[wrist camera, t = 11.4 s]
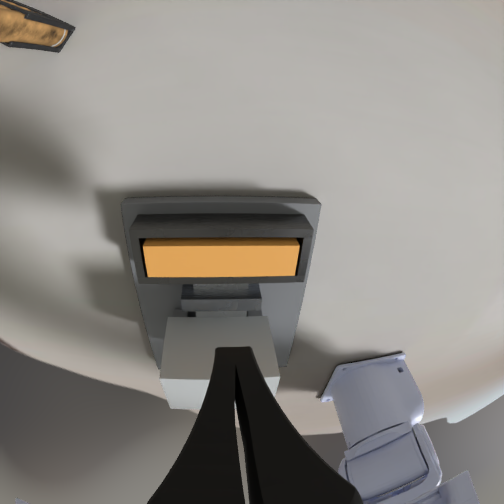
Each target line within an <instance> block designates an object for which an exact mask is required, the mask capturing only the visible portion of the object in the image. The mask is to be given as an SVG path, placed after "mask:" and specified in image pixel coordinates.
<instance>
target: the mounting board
mask: <svg viewBox="0 0 504 504" xmlns="http://www.w3.org/2000/svg"><path fill="white" fill-rule="evenodd" d="M121 209H122V217H123V223H124V230H125V236H126V242H127V247H128V253H129V258H130V263H131V268H132V273H133V278H134V282H135V287H136V291H137V295H138V299H139V304H140V308H141V312H142V315H143V319H144V323H145V327H146V330H147V334H148V337H149V341H150V344H151V348H152V351H153V354H154V357H155V361H156V364H157V367H158V369H161V362H162V354H163V346H164V339H165V332H166V326H167V319H168V317H173V312H174V309H182V305H181V294H182V287H183V284H139V283H138V279H137V274H136V269H135V264H134V258H133V253H132V247H131V241H130V235H129V229H130V227H131V225H132V223H133V222H134V220H135V218H136V216H137V215H139V214H185V213H259V214H304V215H305V216H306V218H307V219H308V221H309V223H310V224H311V226H312V227H313V229H314V232H313V238H312V243H311V248H310V254H309V259H308V264H307V269H306V274H305V279H304V282H294V283H259V287H260V292H261V296H262V303H261V311H262V316H268V321H269V325H270V330H271V335H272V339H273V344H274V349H275V354H276V358H277V363H278V367H286V366H287V363H288V359H289V355H290V351H291V347H292V343H293V339H294V335H295V331H296V327H297V323H298V319H299V314H300V310H301V306H302V301H303V297H304V292H305V287H306V283H307V278H308V273H309V268H310V263H311V258H312V253H313V248H314V243H315V238H316V232H317V227H318V221H319V216H320V210H321V203H320V202H319V201H318V200H317V199H316V198H294V197H262V196H172V197H141V198H125V200H124V201H123V202H122V203H121ZM188 317H196V311H188ZM246 317H247V316H246Z"/></svg>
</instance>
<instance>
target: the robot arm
mask: <svg viewBox="0 0 504 504" xmlns="http://www.w3.org/2000/svg"><path fill="white" fill-rule="evenodd" d="M405 357H406V354H405V353H400V354H395V355H391V356H386V357H381V358H376V359H371V360H365V361H360V362H354V363H348V364H342V365H338V366H337V367H336V368H335V370H334V372H333V375H332V377H331V379H330V381H329V383H328V385H327V387H326V389H325V391H324V393H323V395H322V397H321V398H320V401H321V402H328V401H333V402H334V405H335V408H336V411H337V414H338V417H339V421H340V424H341V427H342V430H343V433H344V437H345V440H346V443H347V446H348V450H347V451H345V452H344V454H345V457H346V458H344V459H342V461H341V464H340V466H339V469H338V473H337V472H336V471H335V470H334V469H332V468H331V467H330V466H329V465H328V464H327V463H326V462H325V461H324V460H323V459H322V458H321V457H320V456H319V455H318V454H317V453H316V452H315V451H314V450H313V449H312V448H311V447H310V446H309V445H308V443H307V442H306V441H305V440H304V439H303V438H302V436H301V435H300V434H299V433H298V431H297V430H296V429H295V428H294V426H293V425H292V424H291V422H290V421H289V419H288V418H287V417H286V415H285V414H284V412H283V411H282V409H281V407H280V406H279V404H278V403H277V401H276V399H275V398H274V396H273V394H272V392H271V390H270V389H269V387H268V385H267V383H266V381H265V379H264V377H263V375H262V373H261V371H260V368H259V366H258V364H257V361H256V358H255V355H254V352H253V349H252V348H251V347H250V346H244V347H217V348H216V349H215V357H214V364H213V369H212V373H211V378H210V381H209V385H208V388H207V391H206V395H205V398H204V401H203V403H202V406H201V409H200V411H199V414H198V417H197V419H196V422H195V424H194V426H193V428H192V431H191V433H190V435H189V437H188V439H187V441H186V443H185V445H184V447H183V449H182V451H181V453H180V454H179V456H178V458H177V460H176V461H175V463H174V465H173V466H172V468H171V469H170V471H169V473H168V474H167V476H166V477H165V479H164V480H163V482H162V484H161V485H160V486H159V487H158V489H157V490H156V492H155V493H154V494H153V496H152V497H151V498H150V500H149V501H148V503H147V504H245V499H244V493H243V485H242V478H241V470H240V463H239V454H238V446H237V437H236V427H235V404H236V409H237V415H238V420H239V425H240V431H241V436H242V441H243V446H244V452H245V463H246V473H247V483H248V493H249V504H480V502H479V499H478V497H477V494H476V491H475V488H474V485H473V483H472V480H471V477H470V475H469V472H468V470H466V471H464V472H462V473H460V474H459V475H457V476H455V477H454V478H452V479H450V480H448V481H447V482H444V483H442V484H440V482H441V477H442V471H441V468H440V465H439V460H438V457H437V454H436V452H435V449H434V447H433V445H432V442H431V440H430V438H429V435H428V433H427V431H426V429H425V427H424V425H421V424H418V423H419V422H420V421H421V419H422V417H423V413H424V402H423V398H422V395H421V392H420V390H419V388H418V386H417V385H416V383H415V381H414V379H413V377H412V375H411V373H410V371H409V369H408V367H407V365H406V363H405V362H404V358H405ZM424 475H425V476H424ZM422 476H424V477H422ZM420 477H422V478H421V479H420V480H418V481H416V482H413V483H411V484H409V485H407V486H405V487H403V488H400V489H398V490H396V491H394V492H391V493H389V494H387V495H384V496H380V497H377V496H379V495H382V494H385V493H387V492H389V491H392V490H394V489H396V488H399V487H401V486H403V485H405V484H408V483H410V482H412V481H414V480H416V479H418V478H420ZM439 484H440V485H439ZM15 504H30V503H28V502H26V501H23V500H21V499H18V498H16V502H15Z"/></svg>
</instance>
